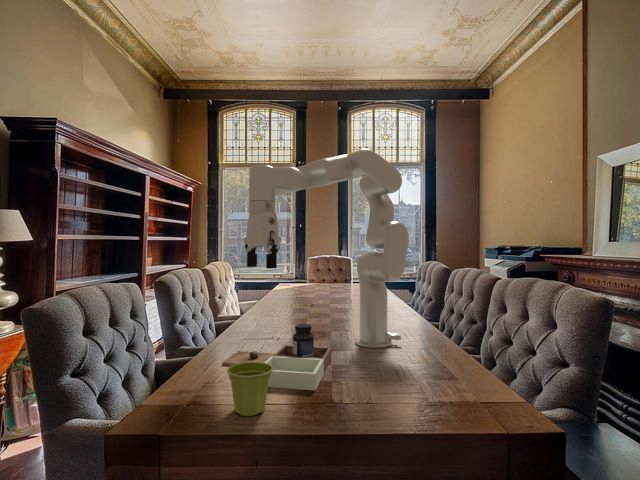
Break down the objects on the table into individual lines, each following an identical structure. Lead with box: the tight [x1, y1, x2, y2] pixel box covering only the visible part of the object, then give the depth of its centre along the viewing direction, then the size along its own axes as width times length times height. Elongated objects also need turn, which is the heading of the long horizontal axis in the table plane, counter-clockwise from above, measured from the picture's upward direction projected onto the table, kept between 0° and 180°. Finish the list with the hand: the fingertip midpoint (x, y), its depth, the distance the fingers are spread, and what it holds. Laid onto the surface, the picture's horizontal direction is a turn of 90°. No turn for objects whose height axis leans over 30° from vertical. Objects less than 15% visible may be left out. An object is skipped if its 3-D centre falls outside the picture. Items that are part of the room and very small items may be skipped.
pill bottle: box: [292, 323, 315, 357], centre depth 108 cm, size 6×6×11 cm
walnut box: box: [273, 344, 332, 373], centre depth 108 cm, size 15×12×4 cm
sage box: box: [265, 356, 325, 392], centre depth 95 cm, size 15×12×4 cm
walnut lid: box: [221, 350, 277, 367], centre depth 111 cm, size 15×12×2 cm
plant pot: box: [226, 362, 273, 417], centre depth 78 cm, size 9×9×9 cm
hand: (261, 267), depth 108 cm, fingers open, 9 cm apart
